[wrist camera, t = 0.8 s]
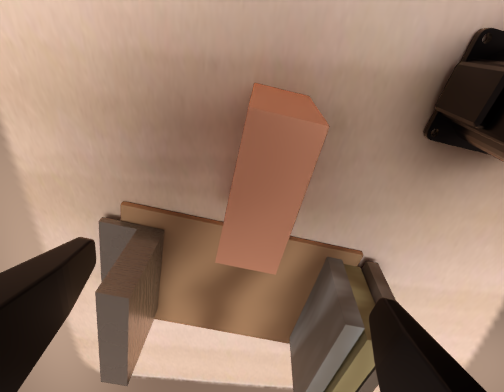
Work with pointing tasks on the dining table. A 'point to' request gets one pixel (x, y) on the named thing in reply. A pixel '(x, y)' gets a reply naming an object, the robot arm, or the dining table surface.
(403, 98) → the dining table surface
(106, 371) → the bookend
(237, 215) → the terracotta rectangular block
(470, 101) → the robot arm
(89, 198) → the dining table surface
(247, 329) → the shelf
